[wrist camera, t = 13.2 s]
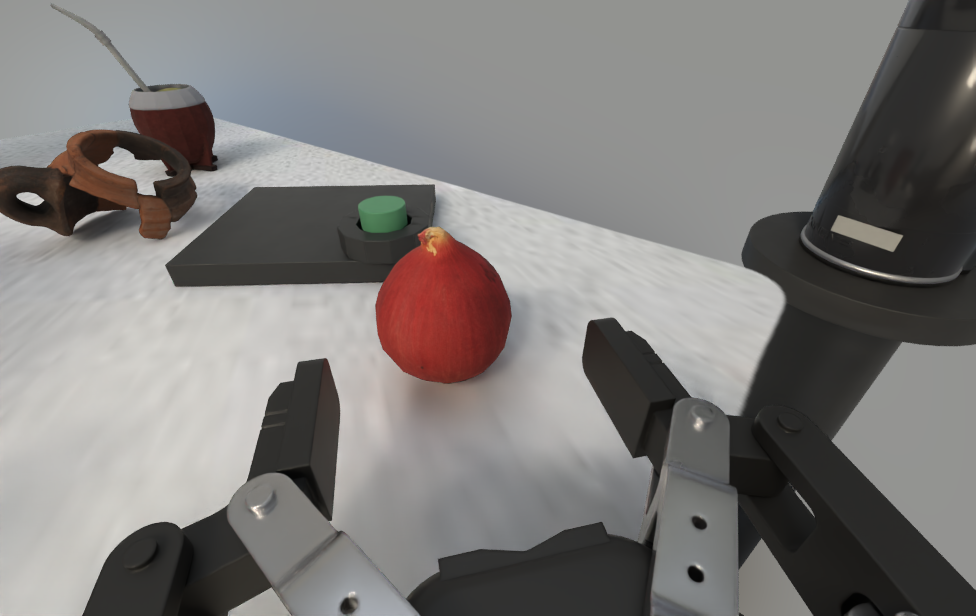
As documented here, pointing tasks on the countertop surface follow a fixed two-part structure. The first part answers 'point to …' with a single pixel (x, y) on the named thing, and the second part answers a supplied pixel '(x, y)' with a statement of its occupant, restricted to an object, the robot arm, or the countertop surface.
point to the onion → (443, 311)
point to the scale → (302, 238)
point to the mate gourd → (167, 112)
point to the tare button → (383, 214)
